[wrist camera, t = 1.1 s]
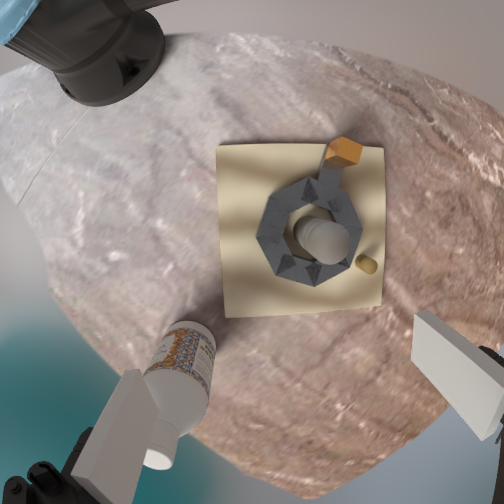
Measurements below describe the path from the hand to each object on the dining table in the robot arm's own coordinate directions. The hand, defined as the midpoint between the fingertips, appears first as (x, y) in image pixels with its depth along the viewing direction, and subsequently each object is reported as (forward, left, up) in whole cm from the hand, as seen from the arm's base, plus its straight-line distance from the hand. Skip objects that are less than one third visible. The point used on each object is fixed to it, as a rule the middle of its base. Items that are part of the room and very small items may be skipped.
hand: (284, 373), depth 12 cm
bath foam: (+11, -9, -23) cm, 27 cm away
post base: (-3, +6, -23) cm, 24 cm away
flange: (-5, +7, -21) cm, 23 cm away
